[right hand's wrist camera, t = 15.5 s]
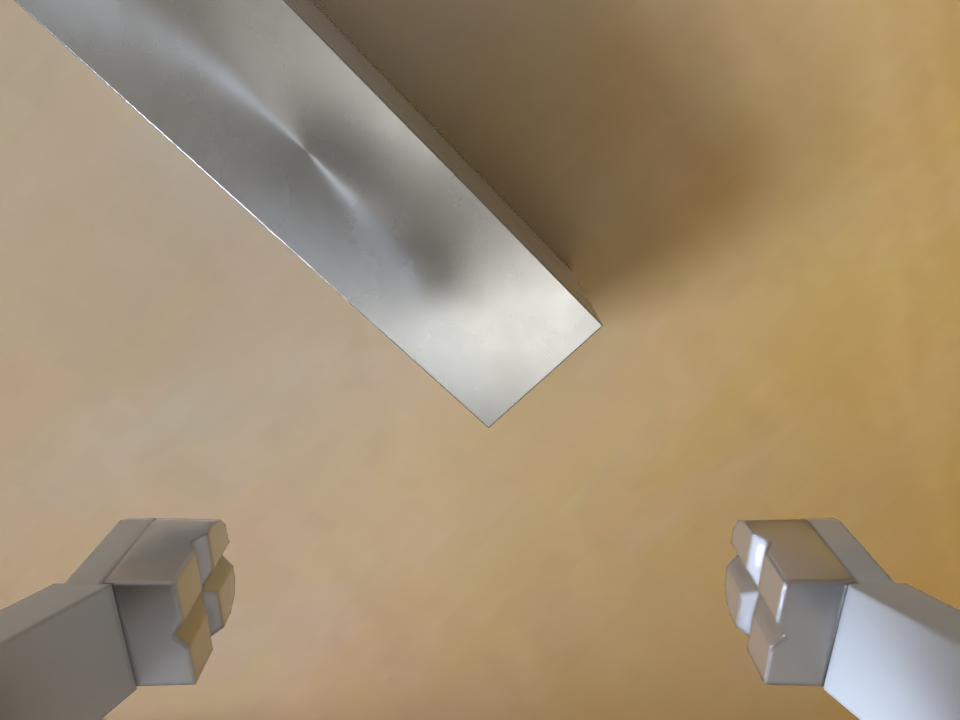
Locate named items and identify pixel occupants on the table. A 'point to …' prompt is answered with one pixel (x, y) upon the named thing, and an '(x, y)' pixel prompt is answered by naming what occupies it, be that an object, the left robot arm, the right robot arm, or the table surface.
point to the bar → (343, 180)
